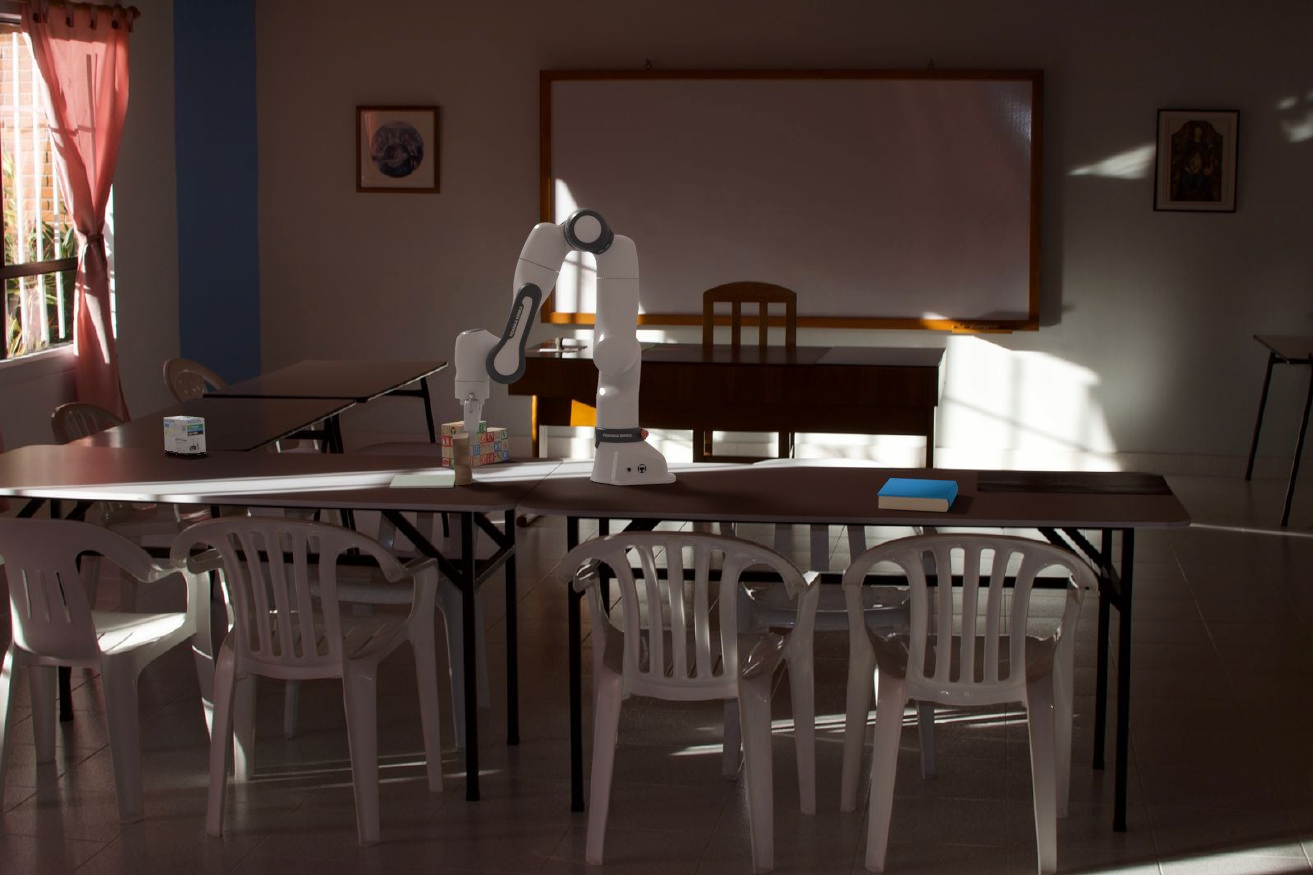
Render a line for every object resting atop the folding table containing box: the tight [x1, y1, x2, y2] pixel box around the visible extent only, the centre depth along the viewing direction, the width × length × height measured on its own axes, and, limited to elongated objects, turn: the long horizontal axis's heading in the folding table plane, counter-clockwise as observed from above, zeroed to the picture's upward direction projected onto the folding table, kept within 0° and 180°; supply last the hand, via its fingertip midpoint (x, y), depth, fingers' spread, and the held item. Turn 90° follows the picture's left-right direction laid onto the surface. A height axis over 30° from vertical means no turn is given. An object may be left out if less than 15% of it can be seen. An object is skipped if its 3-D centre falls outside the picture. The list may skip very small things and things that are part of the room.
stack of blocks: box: [440, 420, 509, 469], centre depth 414 cm, size 21×6×12 cm, turn 145°
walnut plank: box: [452, 433, 474, 486], centre depth 381 cm, size 4×10×12 cm, turn 5°
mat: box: [389, 473, 456, 489], centre depth 381 cm, size 16×18×1 cm
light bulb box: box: [163, 415, 207, 453], centre depth 432 cm, size 11×7×11 cm, turn 58°
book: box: [877, 477, 959, 513], centre depth 355 cm, size 17×4×25 cm
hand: (472, 444), depth 381 cm, fingers closed
